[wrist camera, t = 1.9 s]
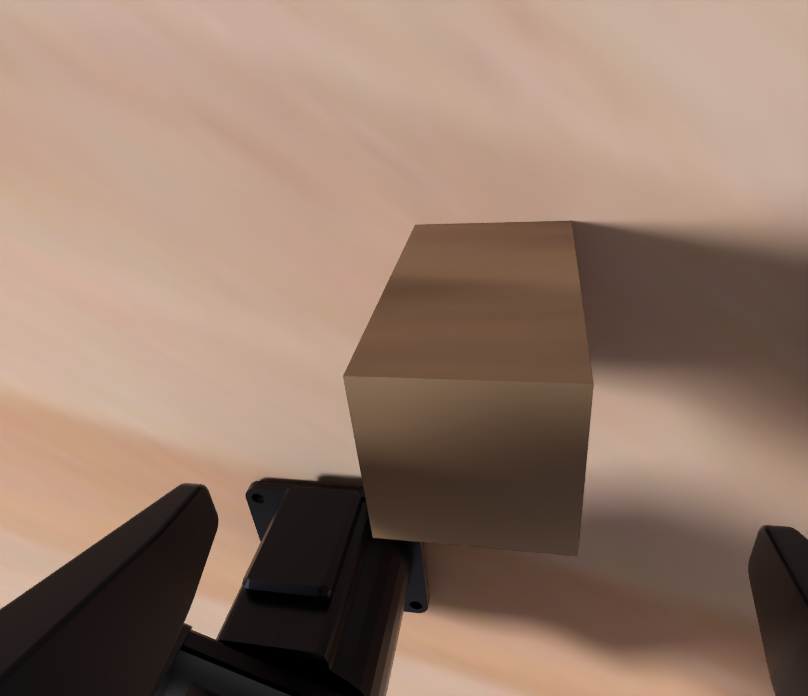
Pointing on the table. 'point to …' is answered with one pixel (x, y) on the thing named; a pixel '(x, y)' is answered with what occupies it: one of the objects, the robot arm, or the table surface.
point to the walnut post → (476, 390)
